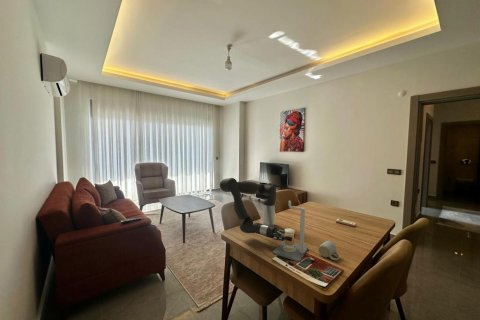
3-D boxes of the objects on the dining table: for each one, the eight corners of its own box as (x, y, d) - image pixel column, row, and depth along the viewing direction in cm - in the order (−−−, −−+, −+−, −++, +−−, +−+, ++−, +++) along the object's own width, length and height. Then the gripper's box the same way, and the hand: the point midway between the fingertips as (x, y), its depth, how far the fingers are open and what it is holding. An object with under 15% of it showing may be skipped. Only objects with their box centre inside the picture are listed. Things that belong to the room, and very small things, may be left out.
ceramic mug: (317, 254, 119) (317, 242, 118) (324, 250, 124) (324, 238, 123) (334, 263, 110) (335, 250, 110) (341, 258, 116) (342, 245, 115)
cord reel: (286, 242, 127) (286, 227, 126) (295, 245, 124) (296, 229, 123) (282, 246, 122) (283, 230, 121) (292, 249, 119) (292, 233, 118)
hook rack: (283, 241, 135) (284, 196, 133) (307, 248, 126) (309, 200, 124) (272, 253, 119) (273, 202, 118) (299, 262, 111) (301, 207, 109)
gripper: (263, 229, 124) (289, 236, 115) (272, 222, 136) (297, 227, 127) (263, 240, 125) (289, 248, 115) (272, 232, 137) (297, 239, 127)
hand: (293, 237), depth 121 cm, fingers closed on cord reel, 5 cm apart
